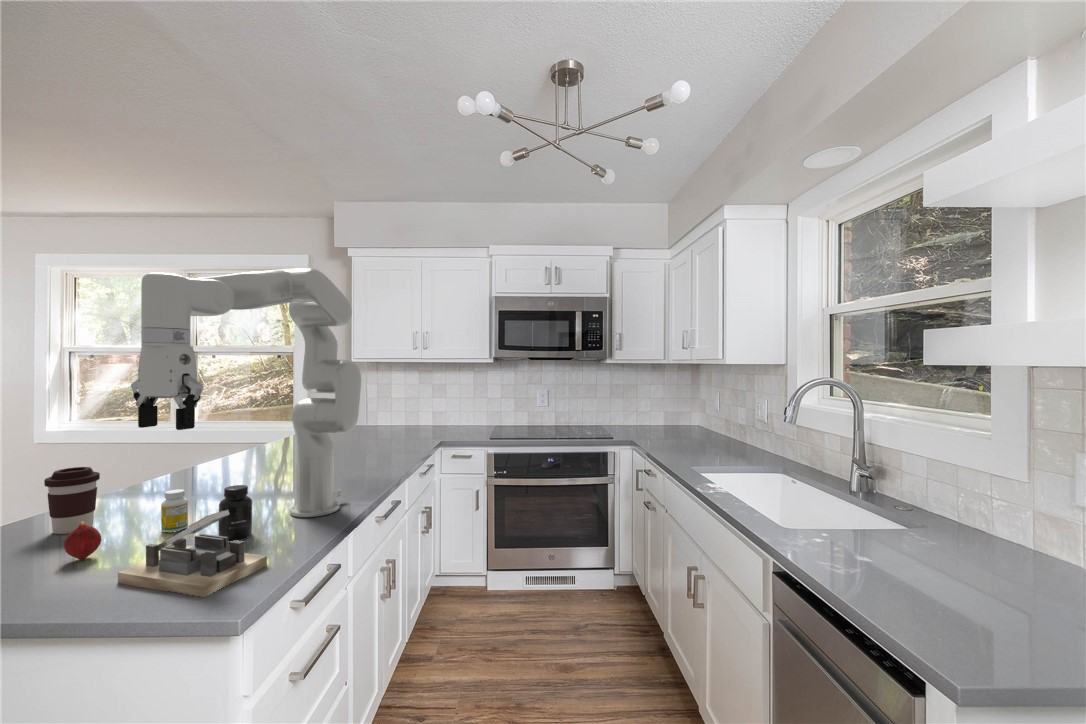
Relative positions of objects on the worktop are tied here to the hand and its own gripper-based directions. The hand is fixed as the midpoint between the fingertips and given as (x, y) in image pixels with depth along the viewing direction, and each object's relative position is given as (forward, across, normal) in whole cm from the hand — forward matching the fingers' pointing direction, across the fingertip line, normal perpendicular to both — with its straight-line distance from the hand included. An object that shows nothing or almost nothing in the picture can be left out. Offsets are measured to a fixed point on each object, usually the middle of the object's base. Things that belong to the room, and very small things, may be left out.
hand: (166, 427), depth 94 cm
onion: (+30, +27, -2) cm, 40 cm away
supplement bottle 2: (+30, +8, -22) cm, 37 cm away
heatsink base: (+30, -2, -4) cm, 30 cm away
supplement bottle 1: (+30, +27, -21) cm, 45 cm away
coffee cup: (+30, +50, -14) cm, 60 cm away
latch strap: (+22, -2, -4) cm, 22 cm away
